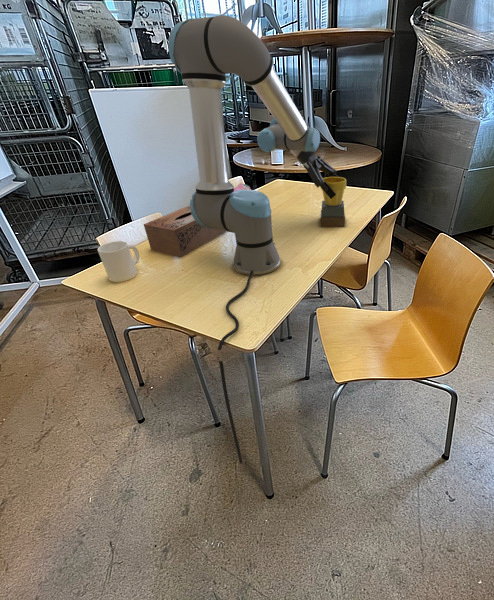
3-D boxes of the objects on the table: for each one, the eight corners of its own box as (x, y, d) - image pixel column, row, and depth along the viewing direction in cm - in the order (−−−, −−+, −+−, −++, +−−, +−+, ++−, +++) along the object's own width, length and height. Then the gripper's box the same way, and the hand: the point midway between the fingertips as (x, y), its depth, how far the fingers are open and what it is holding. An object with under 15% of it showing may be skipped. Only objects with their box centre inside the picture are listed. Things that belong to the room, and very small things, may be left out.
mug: (134, 263, 114) (124, 235, 108) (151, 268, 111) (143, 238, 105) (103, 279, 105) (91, 249, 99) (121, 284, 102) (110, 254, 96)
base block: (344, 226, 138) (345, 217, 136) (320, 226, 139) (320, 217, 137) (343, 218, 146) (344, 209, 144) (321, 218, 147) (321, 209, 145)
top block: (343, 216, 136) (344, 207, 134) (321, 216, 137) (321, 207, 135) (343, 209, 144) (343, 200, 142) (322, 209, 144) (322, 200, 142)
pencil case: (234, 214, 154) (231, 194, 150) (216, 212, 157) (213, 193, 152) (254, 200, 171) (252, 182, 166) (238, 199, 174) (235, 181, 169)
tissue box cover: (180, 257, 117) (174, 230, 112) (151, 250, 123) (143, 224, 117) (226, 231, 137) (222, 207, 131) (198, 226, 142) (193, 203, 137)
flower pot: (316, 202, 140) (315, 178, 135) (337, 198, 144) (338, 175, 139) (327, 209, 132) (328, 183, 127) (350, 205, 136) (351, 180, 131)
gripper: (307, 152, 143) (340, 190, 147) (284, 163, 124) (322, 207, 127) (319, 138, 139) (352, 178, 142) (297, 148, 119) (336, 194, 123)
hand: (338, 192), depth 135 cm, fingers open, 13 cm apart
